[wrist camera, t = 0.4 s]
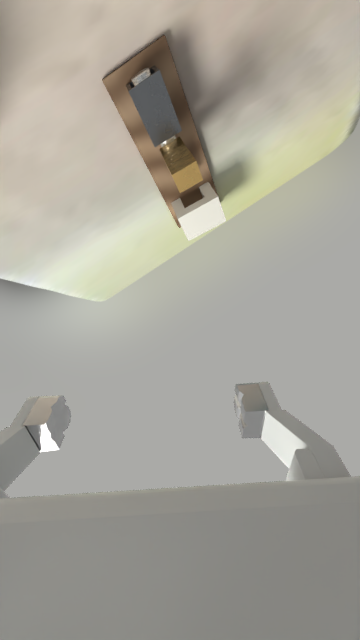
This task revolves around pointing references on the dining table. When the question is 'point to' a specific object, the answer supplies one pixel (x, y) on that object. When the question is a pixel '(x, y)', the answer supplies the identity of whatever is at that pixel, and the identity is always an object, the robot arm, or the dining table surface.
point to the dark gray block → (155, 107)
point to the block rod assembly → (176, 153)
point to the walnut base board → (151, 155)
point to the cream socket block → (200, 213)
